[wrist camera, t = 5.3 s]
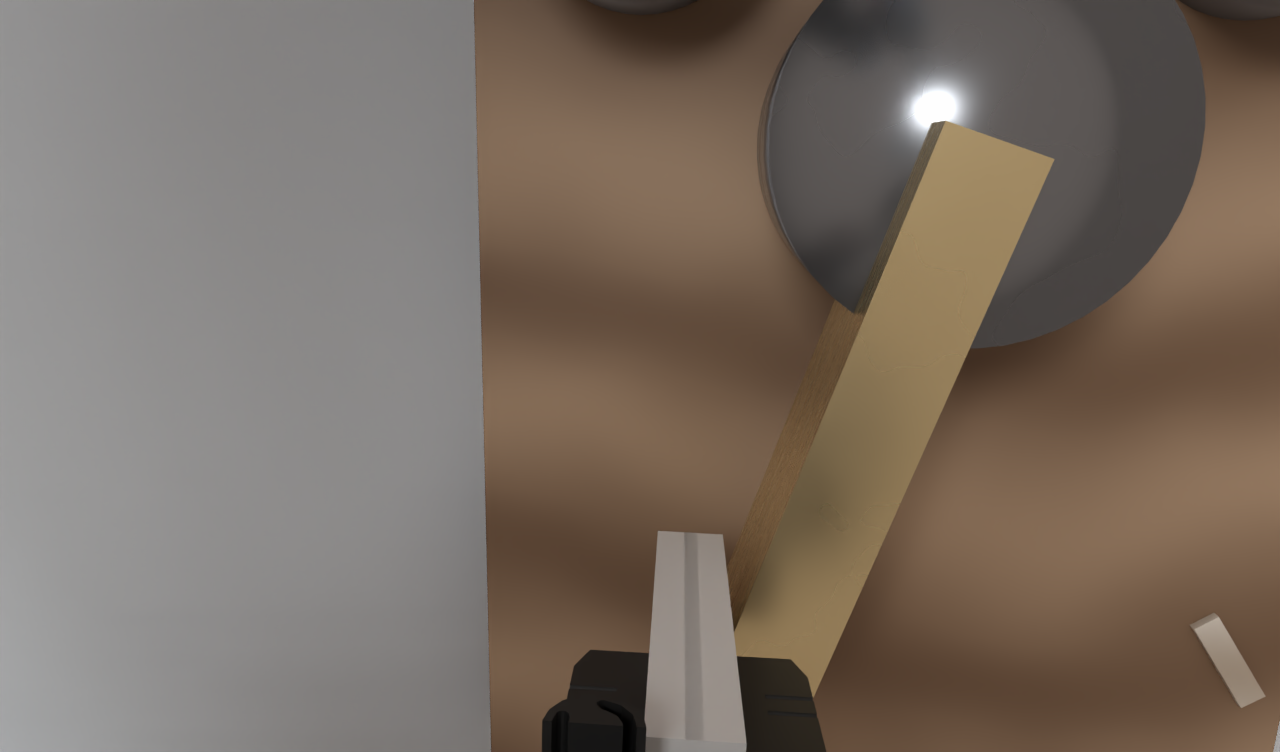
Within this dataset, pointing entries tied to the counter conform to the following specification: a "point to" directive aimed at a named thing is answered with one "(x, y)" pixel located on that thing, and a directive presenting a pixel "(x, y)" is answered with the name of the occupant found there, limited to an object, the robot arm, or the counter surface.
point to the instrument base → (957, 449)
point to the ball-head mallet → (942, 245)
